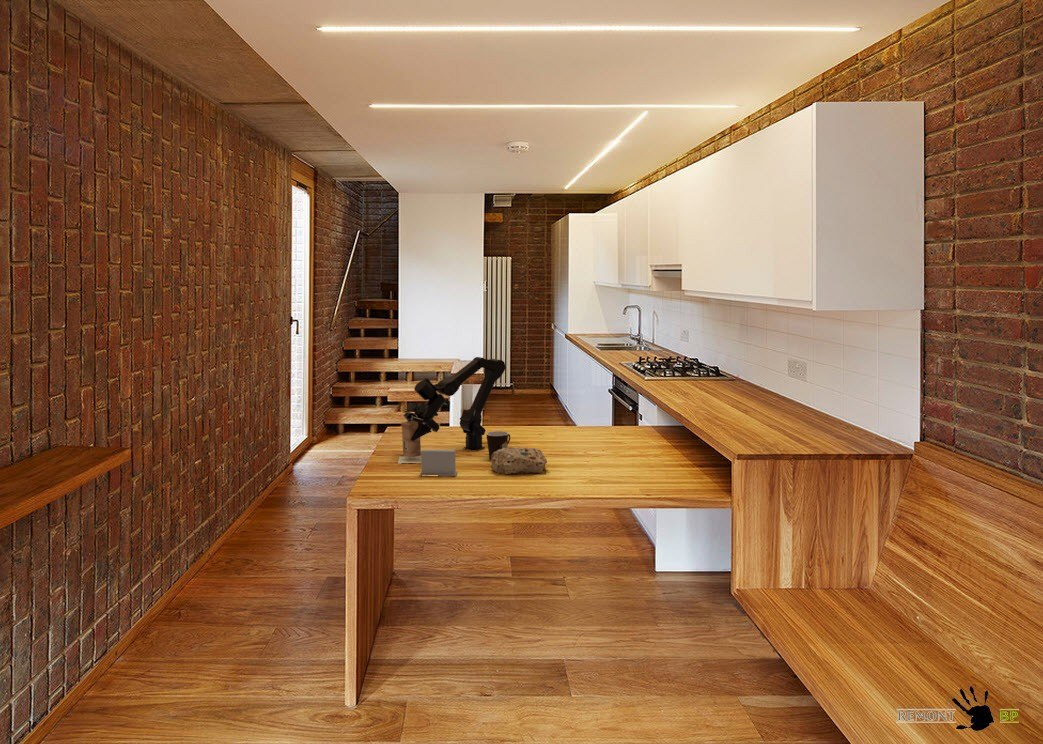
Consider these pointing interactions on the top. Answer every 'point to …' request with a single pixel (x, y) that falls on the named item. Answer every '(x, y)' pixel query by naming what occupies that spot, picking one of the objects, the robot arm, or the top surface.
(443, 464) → the screen
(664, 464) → the top surface
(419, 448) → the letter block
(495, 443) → the coffee mug
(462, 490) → the top surface
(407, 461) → the mat
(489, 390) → the robot arm
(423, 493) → the top surface
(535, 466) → the rock
